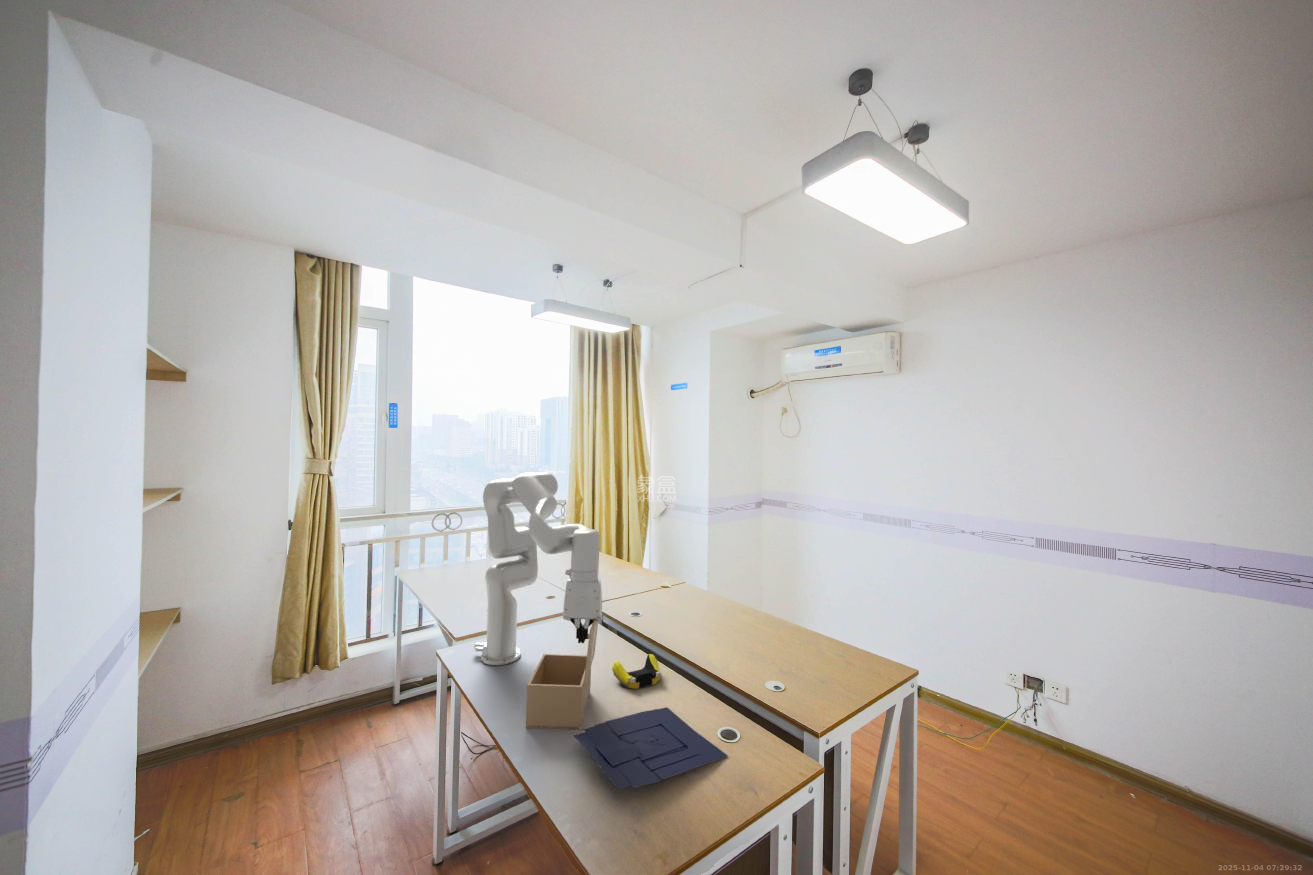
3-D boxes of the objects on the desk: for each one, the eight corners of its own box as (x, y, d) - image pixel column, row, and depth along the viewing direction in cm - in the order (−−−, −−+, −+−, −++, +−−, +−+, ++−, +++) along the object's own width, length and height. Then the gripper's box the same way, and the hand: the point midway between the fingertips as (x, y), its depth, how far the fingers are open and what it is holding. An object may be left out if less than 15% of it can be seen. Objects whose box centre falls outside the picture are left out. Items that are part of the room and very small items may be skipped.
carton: (525, 727, 119) (527, 684, 119) (542, 691, 136) (543, 653, 136) (580, 729, 119) (581, 686, 119) (590, 692, 136) (591, 655, 136)
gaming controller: (610, 678, 145) (623, 694, 136) (610, 660, 145) (624, 675, 136) (652, 668, 152) (667, 682, 143) (653, 651, 152) (668, 665, 143)
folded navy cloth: (567, 742, 112) (570, 727, 112) (665, 716, 130) (666, 703, 130) (621, 809, 92) (624, 790, 93) (727, 768, 110) (729, 752, 110)
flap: (589, 630, 119) (592, 630, 119) (598, 606, 135) (600, 607, 135) (583, 684, 119) (585, 685, 119) (592, 654, 136) (594, 654, 136)
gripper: (554, 577, 124) (551, 646, 124) (610, 580, 123) (607, 648, 124) (560, 569, 131) (557, 633, 131) (613, 571, 131) (610, 636, 131)
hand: (581, 640), depth 127 cm, fingers closed
